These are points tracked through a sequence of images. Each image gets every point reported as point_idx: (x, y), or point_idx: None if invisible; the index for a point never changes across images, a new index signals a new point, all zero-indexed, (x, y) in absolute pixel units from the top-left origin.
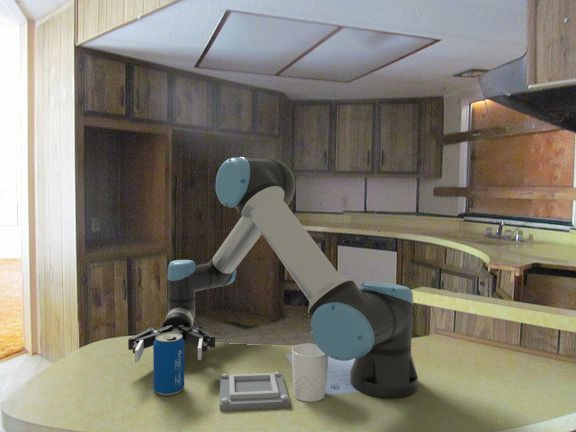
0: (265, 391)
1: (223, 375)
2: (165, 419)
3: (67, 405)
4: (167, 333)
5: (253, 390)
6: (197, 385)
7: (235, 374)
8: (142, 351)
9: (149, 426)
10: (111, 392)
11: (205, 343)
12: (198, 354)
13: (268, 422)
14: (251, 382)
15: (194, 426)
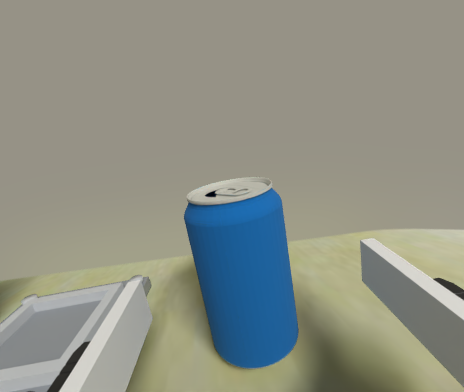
0: (49, 299)
1: None
2: None
3: (447, 261)
4: (241, 198)
5: (57, 324)
6: (175, 376)
7: (45, 371)
8: (433, 346)
9: None
10: None
11: (68, 372)
12: (144, 302)
13: (96, 273)
14: (26, 361)
15: None
